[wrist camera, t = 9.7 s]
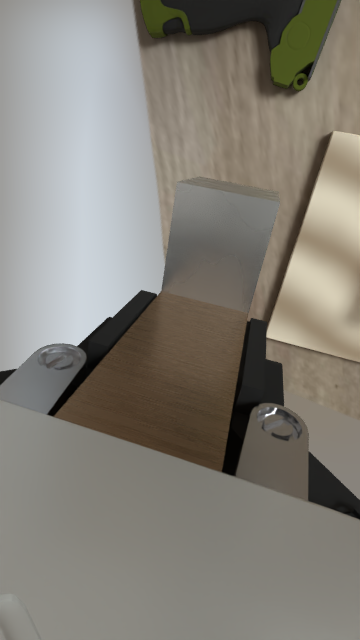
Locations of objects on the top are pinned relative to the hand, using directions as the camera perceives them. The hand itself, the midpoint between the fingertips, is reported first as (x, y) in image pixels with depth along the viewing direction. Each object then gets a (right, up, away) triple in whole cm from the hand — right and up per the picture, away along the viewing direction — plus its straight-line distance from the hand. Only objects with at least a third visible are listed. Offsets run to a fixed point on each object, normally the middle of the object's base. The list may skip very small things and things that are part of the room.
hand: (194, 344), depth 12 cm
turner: (+1, +2, +3) cm, 4 cm away
